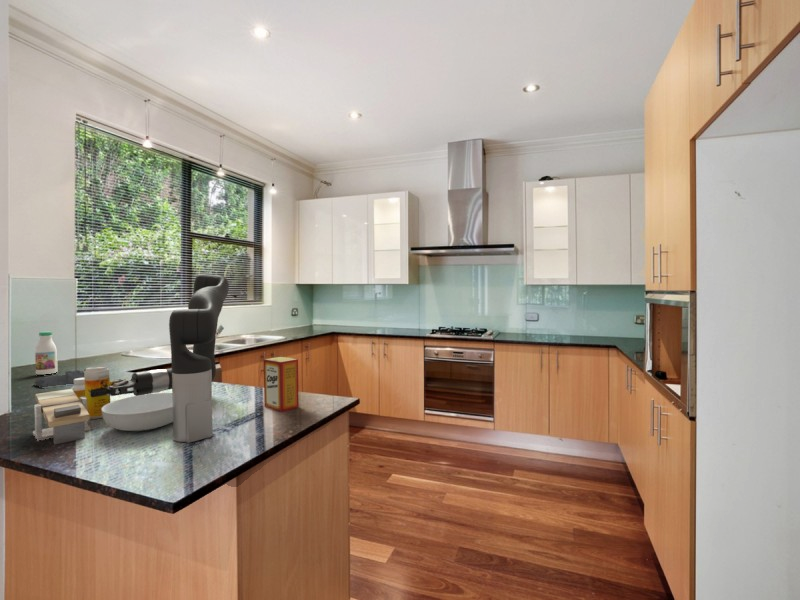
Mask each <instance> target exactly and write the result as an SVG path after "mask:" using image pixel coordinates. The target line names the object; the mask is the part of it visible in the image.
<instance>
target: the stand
mask: <svg viewBox="0 0 800 600" xmlns="http://www.w3.org/2000/svg"><path fill="white" fill-rule="evenodd" d="M80 402H81V403H82V405H83V406H84V407H85V409H86V410H87V398H86V397H80ZM33 409H34V430H33V431H32V436H33V437H34V436H35V437H34V439H35V440H36V439H37V440H36V442H40V441H39V440H41V441H46V440H50V439H49V438H51V439H53V440H52V441H53V444H54V445H59V444H60V445H61V444H64V443H69V442H72V441H73V442H74V441H77V440H82V439H85V438H86V432H87V431H91V426H90V425H89V424H88V420H87V421H82V422H77V423H71V424H66V425H61V426H56V427H51V428H49V427H48V428H43V426H42V425H43V422H42V419H43V418H42V416H43V415H42V412H41V405H40V404H38V403H37V404H34V407H33ZM45 439H46V440H45Z"/></svg>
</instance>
